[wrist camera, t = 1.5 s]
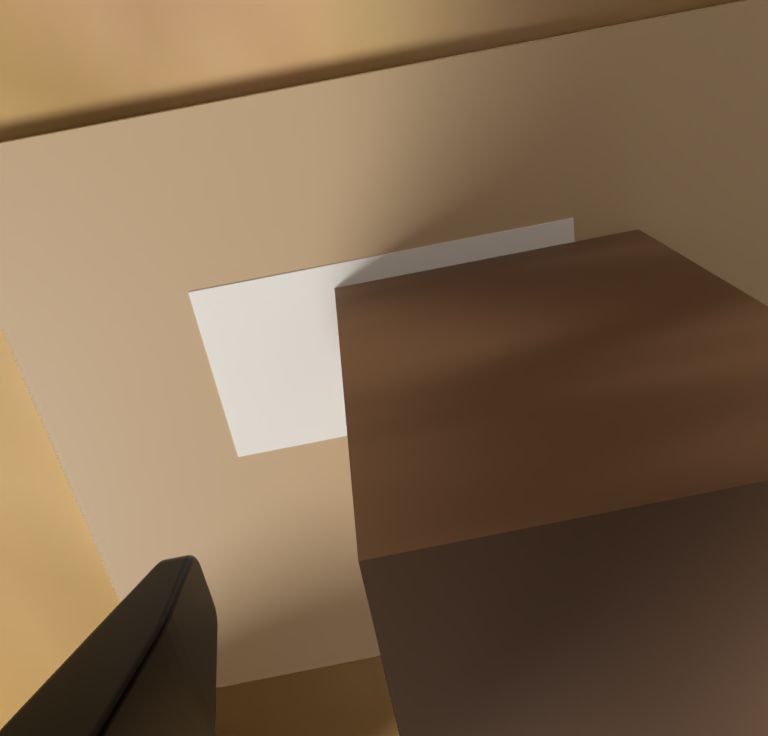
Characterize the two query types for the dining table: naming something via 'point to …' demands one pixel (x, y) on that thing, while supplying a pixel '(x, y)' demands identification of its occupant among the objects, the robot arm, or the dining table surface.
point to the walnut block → (563, 492)
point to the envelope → (335, 279)
